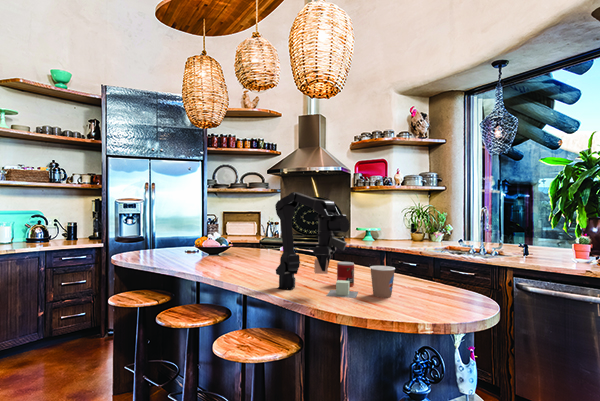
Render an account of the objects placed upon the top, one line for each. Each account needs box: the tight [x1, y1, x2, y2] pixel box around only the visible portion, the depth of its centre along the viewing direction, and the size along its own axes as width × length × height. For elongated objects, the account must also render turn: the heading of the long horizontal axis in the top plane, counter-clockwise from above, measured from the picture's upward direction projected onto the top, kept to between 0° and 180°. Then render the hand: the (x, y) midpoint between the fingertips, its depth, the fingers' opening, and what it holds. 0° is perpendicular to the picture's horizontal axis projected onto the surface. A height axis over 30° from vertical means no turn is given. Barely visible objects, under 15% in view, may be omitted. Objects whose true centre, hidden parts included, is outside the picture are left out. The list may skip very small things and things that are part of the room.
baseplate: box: [326, 289, 359, 299], centre depth 153 cm, size 12×12×1 cm
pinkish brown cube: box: [313, 258, 329, 275], centre depth 148 cm, size 5×5×5 cm
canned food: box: [336, 261, 355, 288], centre depth 170 cm, size 8×8×11 cm
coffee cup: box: [369, 265, 396, 299], centre depth 151 cm, size 10×10×12 cm
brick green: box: [335, 280, 351, 295], centre depth 153 cm, size 5×5×5 cm
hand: (325, 270), depth 148 cm, fingers closed on pinkish brown cube, 5 cm apart
